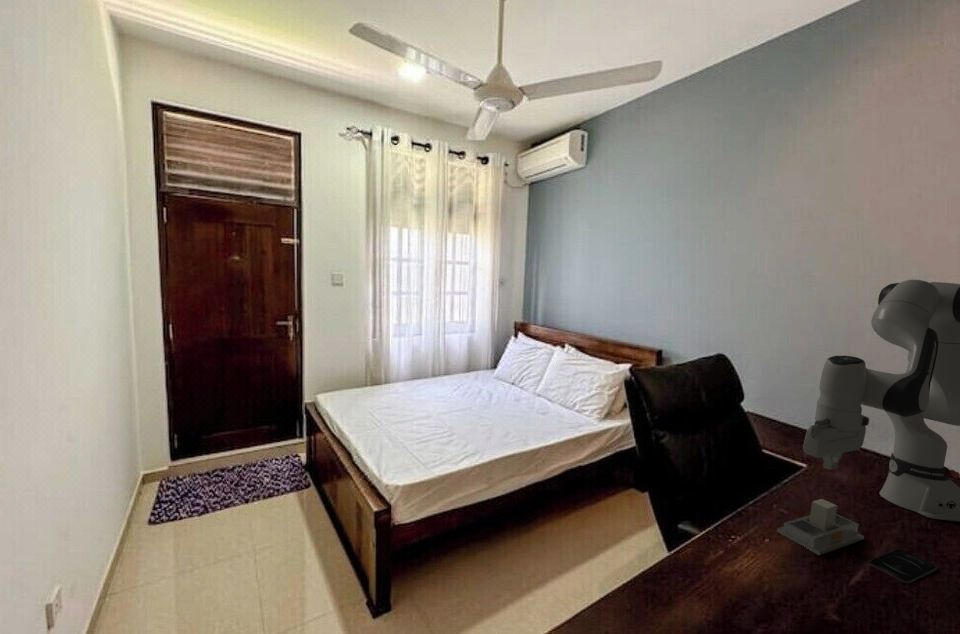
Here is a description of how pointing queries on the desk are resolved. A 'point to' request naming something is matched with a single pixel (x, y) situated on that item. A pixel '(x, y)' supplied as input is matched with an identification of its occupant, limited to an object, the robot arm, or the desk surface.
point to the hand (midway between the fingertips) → (829, 468)
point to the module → (823, 514)
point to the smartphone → (903, 565)
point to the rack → (821, 534)
